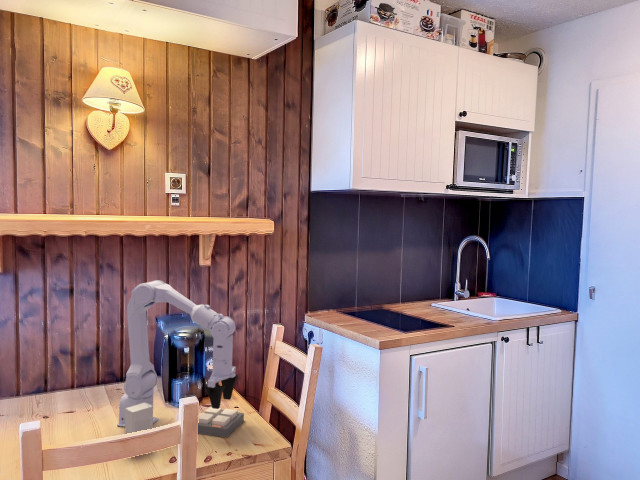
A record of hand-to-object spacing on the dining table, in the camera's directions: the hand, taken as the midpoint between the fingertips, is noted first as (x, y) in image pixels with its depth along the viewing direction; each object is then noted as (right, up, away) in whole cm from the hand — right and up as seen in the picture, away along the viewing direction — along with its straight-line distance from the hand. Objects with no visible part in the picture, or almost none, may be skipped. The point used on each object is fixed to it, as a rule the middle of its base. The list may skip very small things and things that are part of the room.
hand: (221, 403), depth 141 cm
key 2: (-4, -6, +7) cm, 10 cm away
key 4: (+1, -7, +5) cm, 9 cm away
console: (-2, -8, +4) cm, 9 cm away
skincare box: (-20, -8, -13) cm, 25 cm away
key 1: (-5, -6, +2) cm, 9 cm away
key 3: (0, -7, 0) cm, 7 cm away
